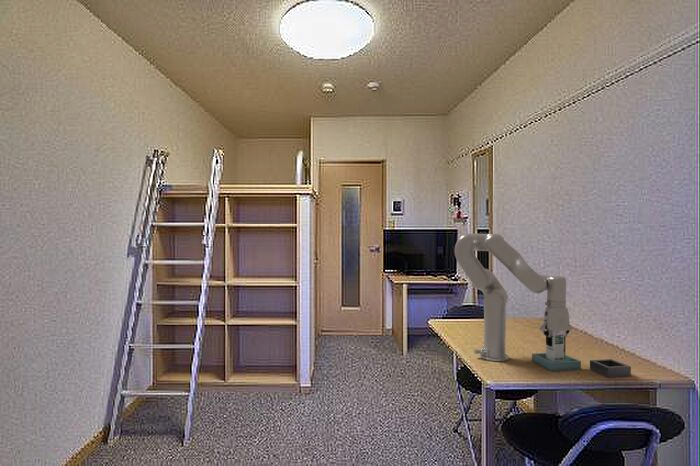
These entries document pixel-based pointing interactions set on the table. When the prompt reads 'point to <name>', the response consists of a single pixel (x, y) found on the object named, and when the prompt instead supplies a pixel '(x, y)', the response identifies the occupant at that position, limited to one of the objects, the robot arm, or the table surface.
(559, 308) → the robot arm
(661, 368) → the table surface
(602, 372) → the holder
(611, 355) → the table surface
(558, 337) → the syrup box
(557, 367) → the tray
